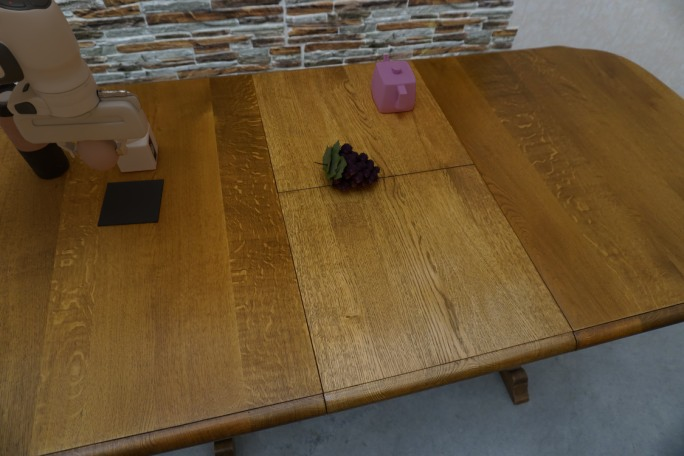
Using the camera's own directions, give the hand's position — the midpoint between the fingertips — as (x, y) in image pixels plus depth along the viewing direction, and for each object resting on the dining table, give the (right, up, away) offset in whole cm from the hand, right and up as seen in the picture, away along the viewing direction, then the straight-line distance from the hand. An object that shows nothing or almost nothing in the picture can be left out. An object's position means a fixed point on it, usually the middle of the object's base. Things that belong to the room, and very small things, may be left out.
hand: (100, 154), depth 85 cm
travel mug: (-21, 0, +19) cm, 28 cm away
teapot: (+58, +21, +39) cm, 73 cm away
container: (-2, +2, +22) cm, 22 cm away
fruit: (+46, -3, +20) cm, 50 cm away
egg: (0, -2, +3) cm, 3 cm away
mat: (0, -8, +14) cm, 16 cm away
